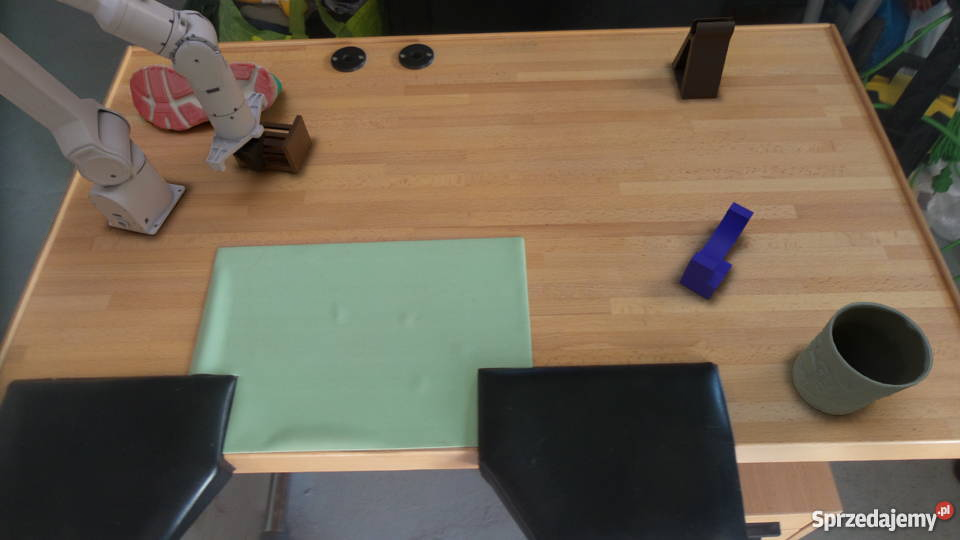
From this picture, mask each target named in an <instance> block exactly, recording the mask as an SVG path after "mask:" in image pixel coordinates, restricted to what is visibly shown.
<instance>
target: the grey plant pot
mask: <svg viewBox="0 0 960 540" xmlns="http://www.w3.org/2000/svg"><path fill="white" fill-rule="evenodd" d="M933 366H934V354H933V348H932V346H931V343H930V341H929V338H928V337H927V335H926V334H925V332H924V331H923V329H922V328H921V327H920V326H919V325H918V324H917V323H916V322H915V321H914V320H912V318H910V316H908V315H906V313H903V312H902V311H900V310H898V309H896V308H894V307H892V306H889V305H887V304H883V303H880V302H874V301H855V302H850V303H848V304H846V305H843V306H842V307H840V308H839V309H838V310H836V312H834V314H833V315H831V317H830V319H829V320H828V321H827V323H826V324H825V326H824V327H823V328H822V330H821V331H819V333H817V334H816V336H814V338H813V339H812V340H811V341H810V342H809V344H808V345H807V346H806V347H805V348H804V349H803V351H801V352H800V354H798V356H797V357H796V359H795V360H794V363H793V365H792V368H791V369H792V371H791V375H792V376H791V379H792V381H793V385H794V387H795V390H796V392H797V393H798V394H799V396H800V398H802V399H803V400H804V401H805V402H806V403H807V404H808V405H810V407H812V408H814V409H815V410H818V411H820V412H822V413H825V414H828V415H833V416H845V415H849V414H852V413H854V412H857V411H859V410H861V409H864V408H865V407H867V406H868V405H870V404H872V403H874V402H876V401H877V400H880V399H882V398H887V397H891V396H892V395H894V394H896V393H899V392H901V391H904V390H906V389H909V388H911V387H913V386H917V385H919V384H920V383H921V382H923V381H924V380H925V379H926V378H927V377H928V376H929V375H930V373H931V371H932V369H933Z"/></svg>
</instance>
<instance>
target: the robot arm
mask: <svg viewBox="0 0 960 540" xmlns="http://www.w3.org/2000/svg"><path fill="white" fill-rule="evenodd" d="M56 1H57V2H60V3H63V4H65V5H67V6H69V7H73V8H75V9H77V10H80V11H83V12H84V13H87V14H90V15H92V16H93V18H94V19H95V20H96V22H97V24H98V25H99V27H100V29H101V30H102V31H103V32H105V33H108V34H110V35H112V36H115V37H116V38H119V39H122V40H123V41H126V42H128V43H130V44H132V45H135V46H137V47H139V48H141V49H144V50H146V51H148V52H151V53H152V54H155V55H157V56H159V57H161V58H162V57H163V58H164V59H167V60H169V61H171V63H172V64H171V66H172V67H173V69H174V70H175V71H176V72H177V73H178V74H180V75H181V76H183V77H185V78H187V80H188V83H189V85H190V87H191V89H192V90H193V92H194V94H195V96H196V97H197V99H198V101H199V103H200V104H201V106H202V108H203V110H204V112H205V113H206V115H207V117H208V119H209V120H210V121H209V122H210V124H211V126H212V127H213V130H214V132H213V136H212V137H213V138H212V140H211V145H210V151H209V154H208V156H207V158H206V159H205V162H206V164H207V165H208V167H209V168H210V170H211V171H215V172H220V173H224V172H225V171H226V170H227V165H226V163H227V161H228V159H229V158H230V157H231V156H233V155H234V156H236V157H237V158H239V159H240V160H241V161H243V162H244V163H245V164H246V165H247V166H248V167H247V168H248V169H250V171H252V172H257V173H264V171H265V170H266V169H265V160H266V159H265V154H264V152H263V144H264V137H265V131H266V130H265V128H263V126H262V125H259V122H260V121H261V116H262V112H261V110H262V108H266V106H267V105H268V102H267V100H266V97H265V95H264V94H260V93H254V92H252V94H251V95H250V96H249V97H248V98H247V99H245V97H244V95H243V93H242V91H241V89H240V87H239V85H238V83H237V80H236V78H235V76H234V74H233V72H232V70H231V68H230V67H229V66H228V64H229V63H228V61H227V59H226V58H225V57H224V55H223V52H222V51H221V49H220V46H219V41H218V40H219V39H218V35H217V31H216V30H215V27H214V25H213V23H212V22H211V21H210V20H209V19H208V18H207V17H205V16H203V15H202V14H201V13H200V12H199V11H196V10H192V9H191V10H189V9H185V10H184V9H183V10H176V9H175V8H171V7H169V6H167V5H165V4H163V3H161V2H159V1H157V0H56ZM0 95H1V96H3V97H4V98H5V99H6V100H8V101H10V102H11V103H12V104H13V105H15V106H16V107H18V109H20V110H22V111H23V112H24V113H26V114H27V115H28V116H30V117H31V118H33V119H34V120H35V121H37V122H38V123H39V124H41V125H42V126H43V127H45V128H46V129H48V131H50V132H51V133H52V136H53V137H54V139H55V142H56V144H57V145H58V148H59V149H60V152H61V153H62V156H63V157H64V158H66V159H67V160H68V161H70V162H71V163H72V164H73V165H74V167H75V168H76V169H77V172H78V173H79V175H80V176H81V177H82V178H83V179H85V180H86V181H87V182H90V183H93V184H92V187H91V190H90V192H89V194H88V197H87V198H88V200H89V202H90V203H91V204H92V205H93V206H94V207H95V208H96V210H97V211H98V212H99V213H101V215H102V216H103V217H104V218H105V219H106V220H107V221H108V223H107V224H108V225H109V226H110V227H113V228H118V229H122V230H127V231H131V232H136V233H141V234H145V235H150V236H154V235H156V234H157V233H158V231H159V229H160V228H162V227H161V226H162V225H163V224H164V222H165V220H166V219H167V218H168V216H169V215H170V213H171V212H172V211H173V209H174V207H176V204H177V203H178V202H179V200H180V199H181V198H182V196H183V194H184V193H185V192H186V187H185V186H184V185H178V184H174V183H168V182H167V181H166V180H165V178H164V177H163V176H162V175H161V173H160V172H159V171H158V170H157V168H156V166H155V165H154V164H153V163H152V161H151V159H149V158H148V156H147V155H146V153H145V152H144V151H143V149H142V148H141V147H140V146H138V145H137V144H136V143H135V142H134V140H133V139H132V138H131V136H130V134H131V131H132V129H131V123H130V122H129V120H128V119H127V118H126V117H125V116H124V114H122V113H120V112H118V111H117V110H114V109H111V108H109V107H106V106H104V105H102V104H101V103H100V102H98V101H97V100H96V99H95V98H91V97H89V98H80V97H79V96H77V95H76V94H75V93H74V92H73V91H72V90H70V89H69V88H68V87H67V86H65V85H64V84H63V83H62V82H60V81H59V80H58V79H57V78H56V77H55V76H53V74H51V73H50V72H48V70H46V69H45V68H44V67H42V66H41V65H40V64H39V63H38V62H37V61H35V60H34V59H33V58H31V56H29V55H28V54H27V53H26V52H24V51H23V50H22V49H21V48H20V47H19V46H18V45H16V44H15V43H14V42H12V41H11V40H10V39H9V38H8V37H6V36H5V35H4V34H3V33H2V32H0ZM234 156H233V157H234Z"/></svg>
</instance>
